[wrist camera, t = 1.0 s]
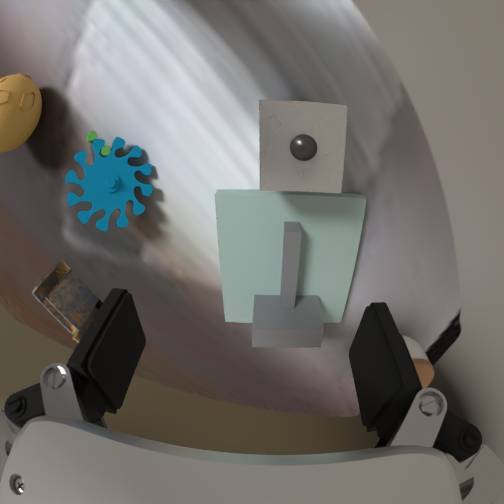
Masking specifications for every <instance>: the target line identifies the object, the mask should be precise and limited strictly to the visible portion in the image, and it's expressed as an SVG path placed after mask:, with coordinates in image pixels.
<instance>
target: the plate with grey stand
mask: <svg viewBox="0 0 504 504" xmlns="http://www.w3.org/2000/svg"><path fill="white" fill-rule="evenodd" d="M366 201H367V198H366V197H365V196H364V195H363V194H355V193H324V192H301V191H260V190H217V191H216V193H215V204H216V219H217V233H218V245H219V258H220V270H221V281H222V292H223V302H224V312H225V322H245V323H252V347H321V343H322V339H323V335H324V331H325V329H324V323H341V320H342V316H343V313H344V309H345V305H346V301H347V297H348V293H349V289H350V285H351V280H352V276H353V271H354V267H355V262H356V257H357V252H358V247H359V242H360V237H361V231H362V226H363V220H364V214H365V208H366Z"/></svg>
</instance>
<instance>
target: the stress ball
mask: <svg viewBox="0 0 504 504" xmlns="http://www.w3.org/2000/svg"><path fill="white" fill-rule="evenodd" d="M41 110H42V97H41V93H40V90H39V88H38V86H37V85H36V83H35V82H34V81H33V80H31V77H30V76H28V75H24V74H20V73H18V74H17V75H9V76H5V77H2V78H0V152H7V151H10V150H13V149H15V148H17V147H18V146H20V145H21V144H22V143H24V142H25V141H26V140H27V139H28V138H29V137H30V135H31V134H32V133H33V131H34V129H35V128H36V126H37V124H38V121H39V119H40V115H41Z"/></svg>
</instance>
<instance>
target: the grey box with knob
mask: <svg viewBox="0 0 504 504" xmlns="http://www.w3.org/2000/svg"><path fill="white" fill-rule="evenodd" d="M259 112H260V191H301V192H324V193H341V190H342V180H343V169H344V157H345V144H346V128H347V105H340V104H331V103H320V102H306V101H287V100H259Z"/></svg>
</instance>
